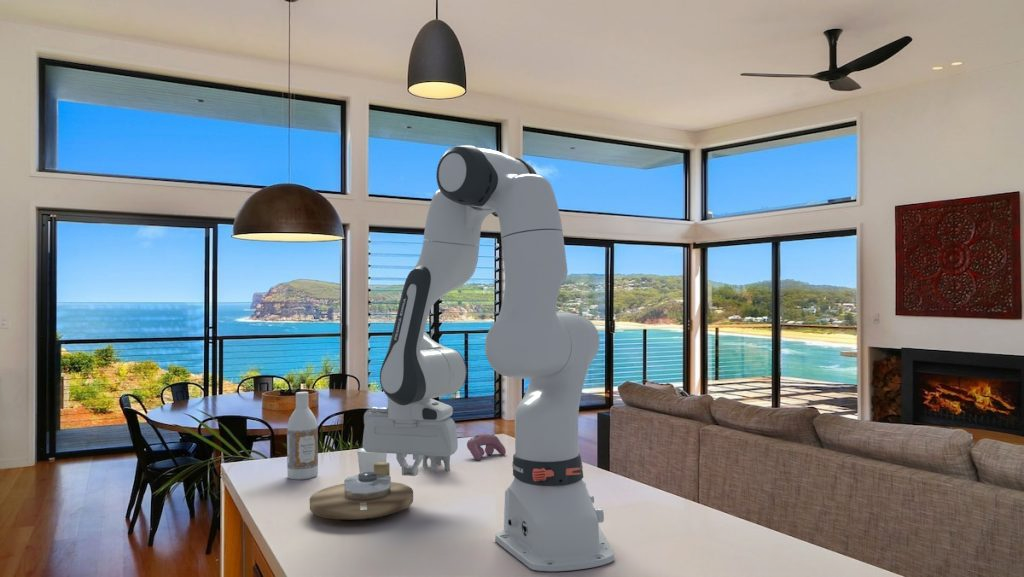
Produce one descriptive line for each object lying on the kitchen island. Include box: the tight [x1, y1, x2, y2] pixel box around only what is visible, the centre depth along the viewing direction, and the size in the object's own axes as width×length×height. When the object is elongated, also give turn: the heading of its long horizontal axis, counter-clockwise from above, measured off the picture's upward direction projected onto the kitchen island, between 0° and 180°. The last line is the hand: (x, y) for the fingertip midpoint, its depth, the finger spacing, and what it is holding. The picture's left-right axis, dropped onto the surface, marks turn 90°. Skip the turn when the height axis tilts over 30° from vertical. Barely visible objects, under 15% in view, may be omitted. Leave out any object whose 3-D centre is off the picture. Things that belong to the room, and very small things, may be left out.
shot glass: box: [356, 447, 388, 474], centre depth 156 cm, size 7×7×7 cm
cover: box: [343, 472, 392, 501], centre depth 132 cm, size 9×9×4 cm
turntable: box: [309, 461, 414, 520], centre depth 132 cm, size 20×20×6 cm
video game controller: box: [466, 433, 507, 461], centre depth 177 cm, size 10×5×7 cm, turn 130°
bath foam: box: [286, 391, 319, 481], centre depth 159 cm, size 7×7×20 cm
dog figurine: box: [422, 455, 451, 474], centre depth 163 cm, size 5×13×11 cm, turn 27°
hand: (409, 475), depth 138 cm, fingers closed
